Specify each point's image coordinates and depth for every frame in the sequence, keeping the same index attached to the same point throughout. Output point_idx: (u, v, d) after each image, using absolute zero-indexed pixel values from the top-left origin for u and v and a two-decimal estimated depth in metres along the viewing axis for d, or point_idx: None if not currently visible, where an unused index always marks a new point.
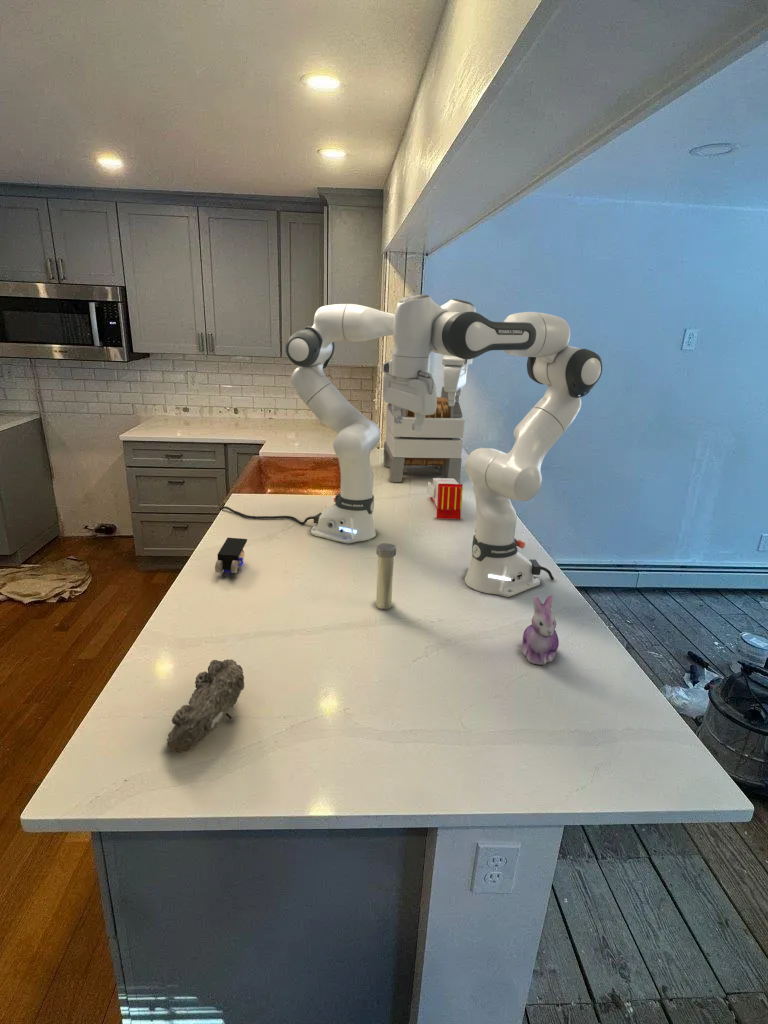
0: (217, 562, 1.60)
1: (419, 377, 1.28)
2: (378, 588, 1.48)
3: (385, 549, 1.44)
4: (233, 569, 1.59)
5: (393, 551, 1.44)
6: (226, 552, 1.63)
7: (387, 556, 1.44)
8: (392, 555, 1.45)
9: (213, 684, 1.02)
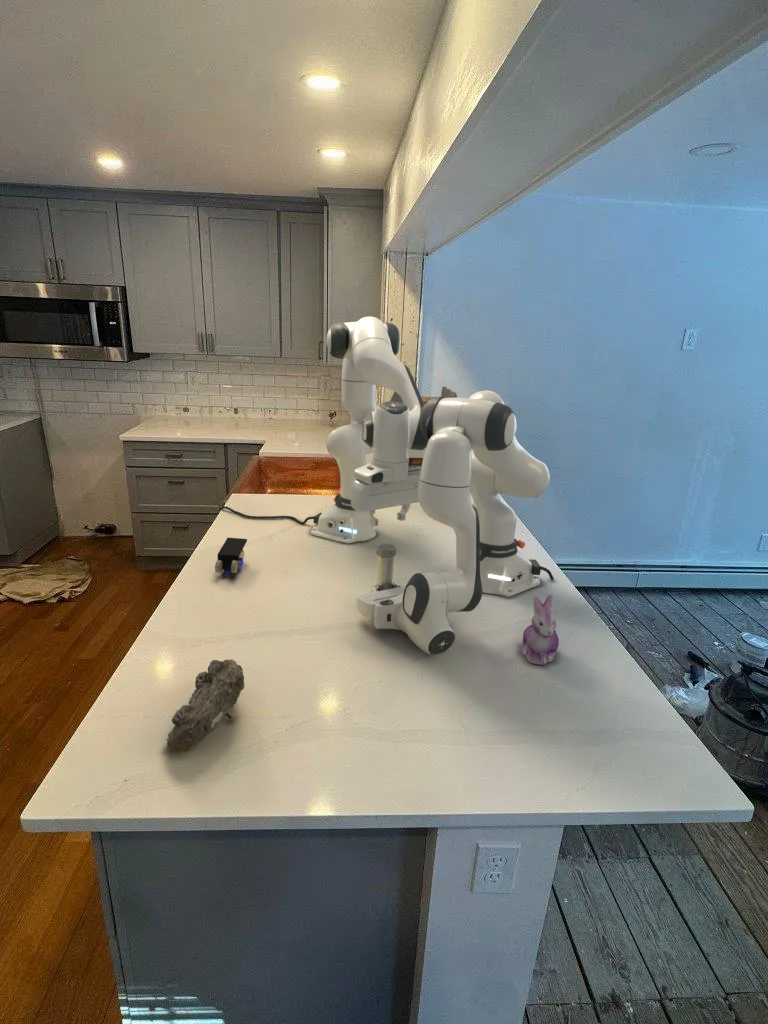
0: (217, 562, 1.60)
1: None
2: None
3: (385, 549, 1.44)
4: (233, 569, 1.59)
5: (393, 551, 1.44)
6: (226, 552, 1.63)
7: (387, 556, 1.44)
8: (392, 555, 1.45)
9: (213, 684, 1.02)
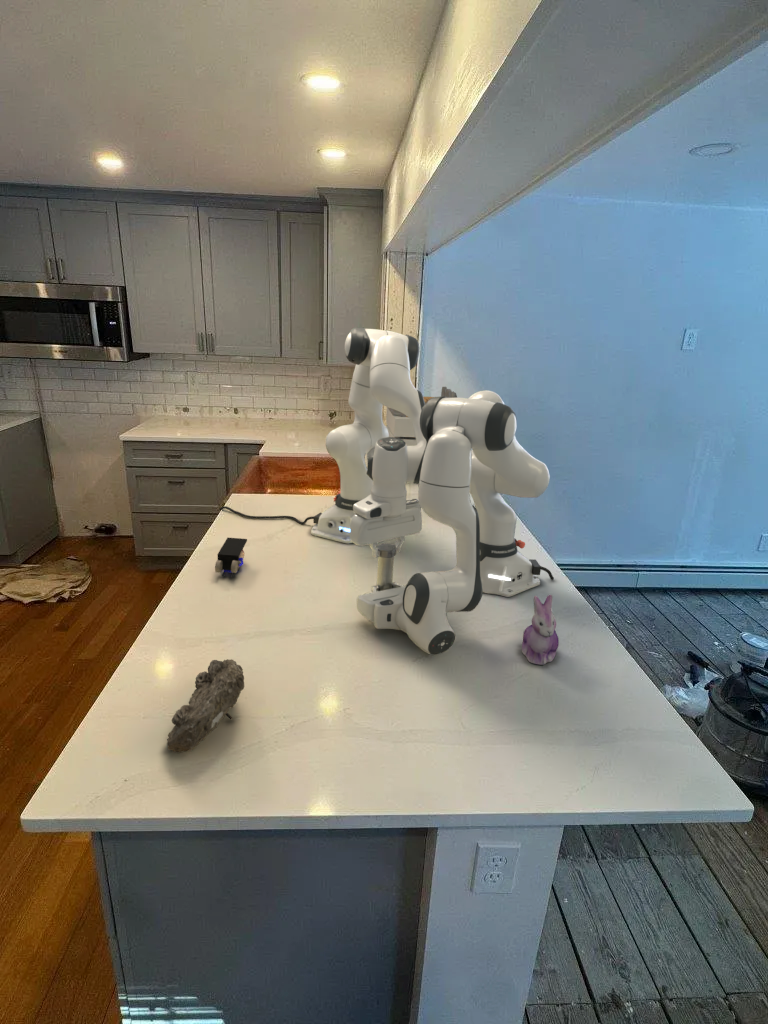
0: (217, 562, 1.60)
1: None
2: None
3: (385, 549, 1.44)
4: (233, 569, 1.59)
5: (393, 551, 1.44)
6: (226, 552, 1.63)
7: (387, 556, 1.44)
8: (392, 555, 1.45)
9: (213, 684, 1.02)
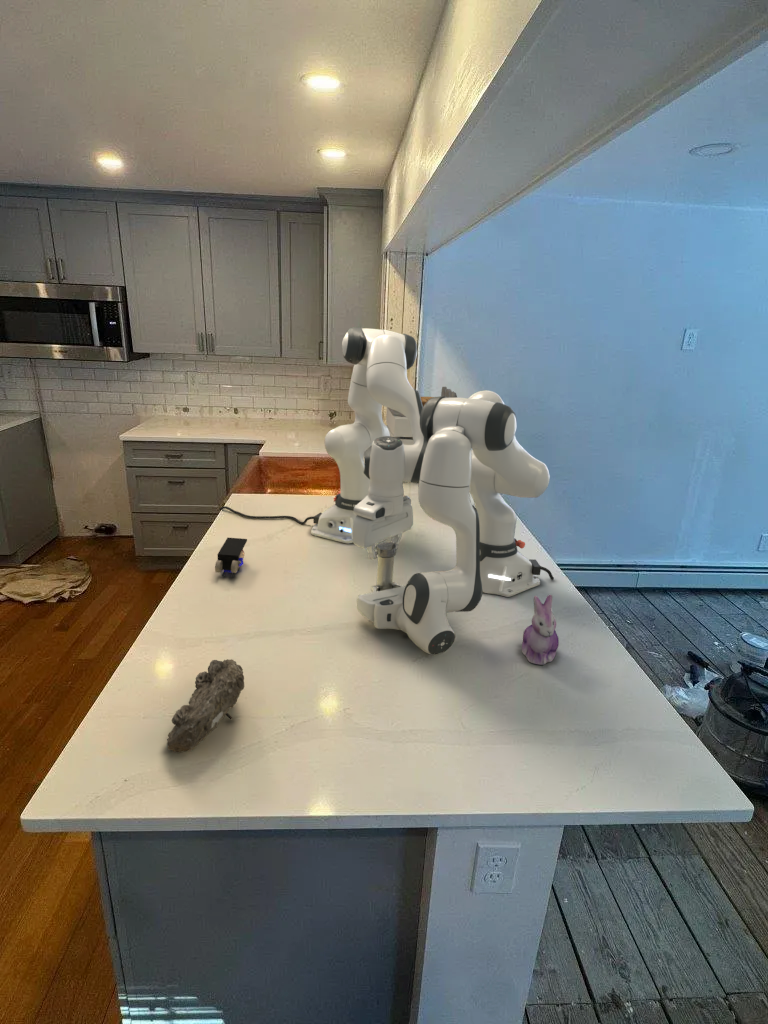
0: (217, 562, 1.60)
1: None
2: None
3: (392, 547, 1.45)
4: (233, 569, 1.59)
5: None
6: (226, 552, 1.63)
7: (395, 552, 1.46)
8: None
9: (213, 684, 1.02)
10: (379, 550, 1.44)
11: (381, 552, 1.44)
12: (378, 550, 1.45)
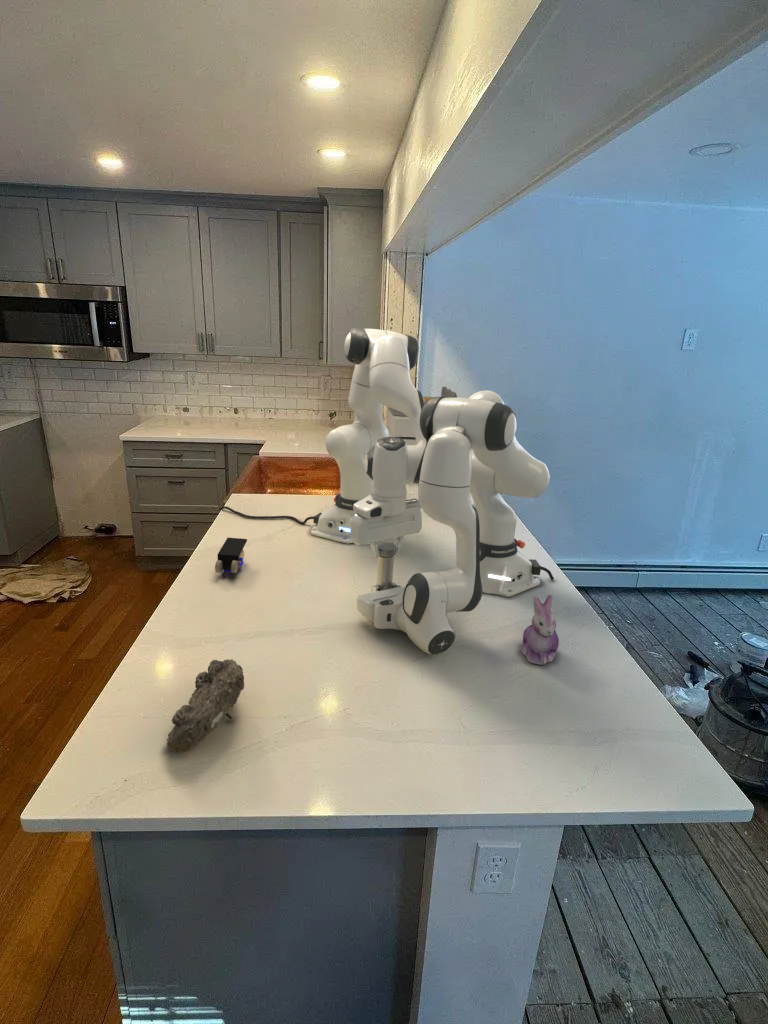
0: (217, 562, 1.60)
1: None
2: None
3: (392, 547, 1.45)
4: (233, 569, 1.59)
5: None
6: (226, 552, 1.63)
7: (395, 552, 1.46)
8: None
9: (213, 684, 1.02)
10: None
11: (381, 552, 1.44)
12: None
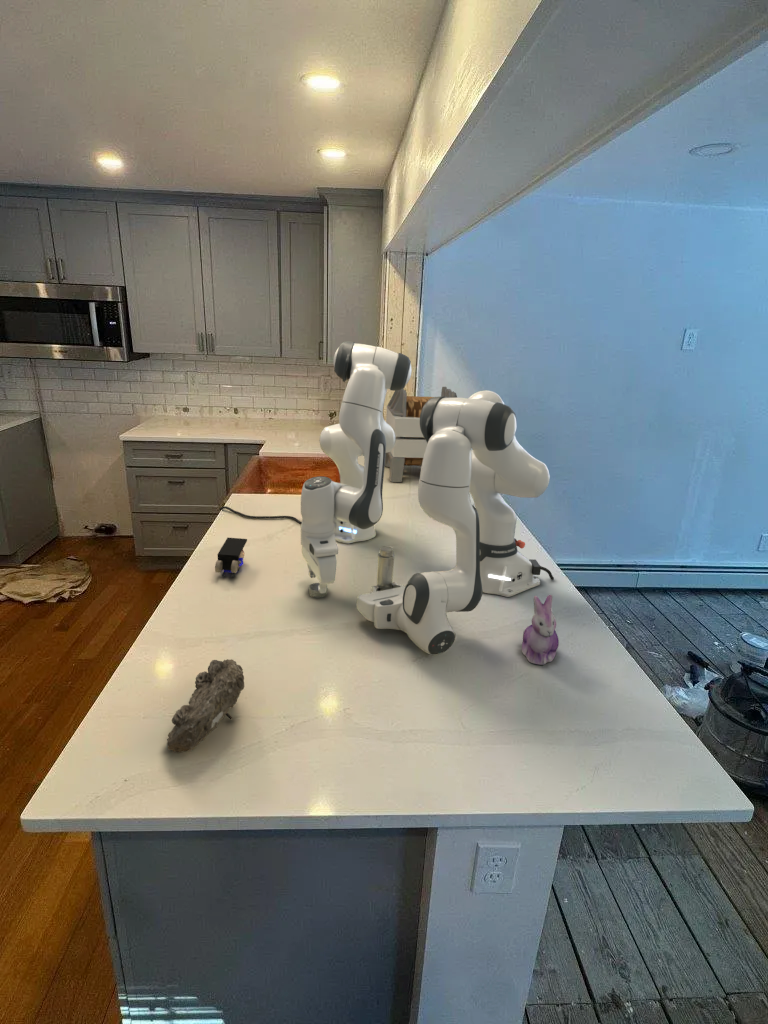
0: (217, 562, 1.60)
1: None
2: None
3: None
4: (233, 569, 1.59)
5: None
6: (226, 552, 1.63)
7: None
8: None
9: (213, 684, 1.02)
10: None
11: (323, 593, 1.54)
12: (320, 593, 1.54)
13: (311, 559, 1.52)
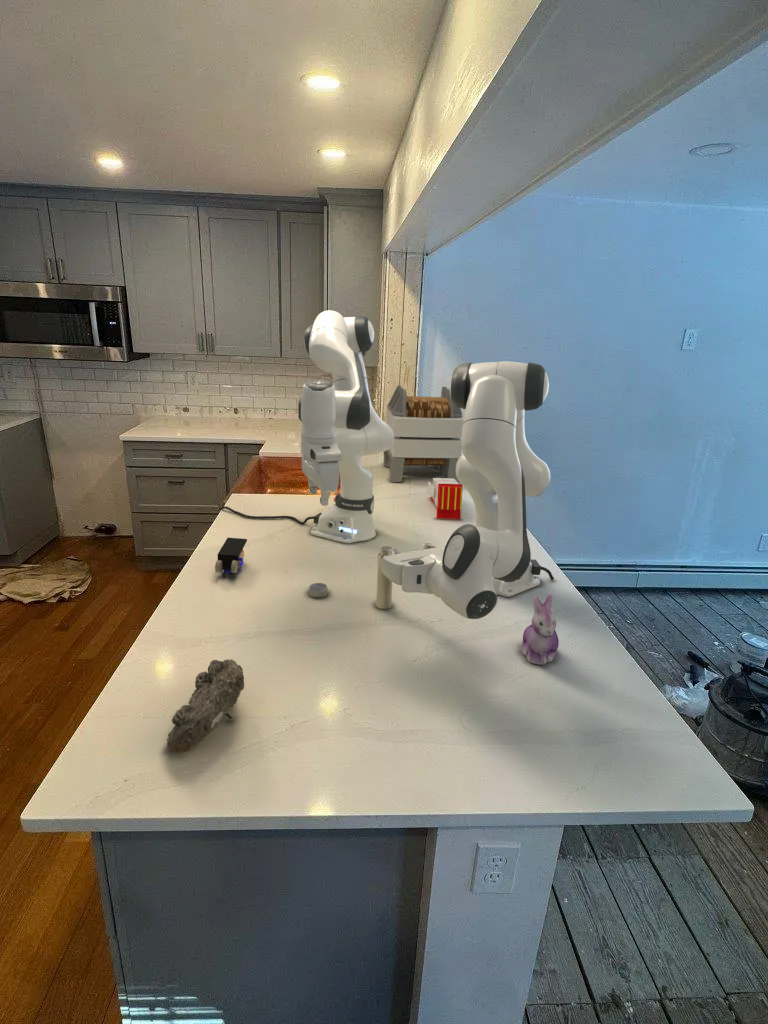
0: (217, 562, 1.60)
1: None
2: (378, 588, 1.48)
3: (322, 584, 1.57)
4: (233, 569, 1.59)
5: None
6: (226, 552, 1.63)
7: None
8: None
9: (213, 684, 1.02)
10: (321, 592, 1.54)
11: (323, 593, 1.54)
12: (320, 593, 1.54)
13: (312, 470, 1.43)
